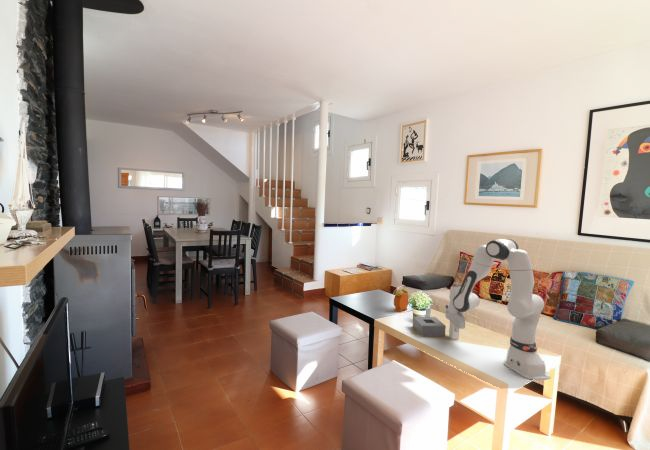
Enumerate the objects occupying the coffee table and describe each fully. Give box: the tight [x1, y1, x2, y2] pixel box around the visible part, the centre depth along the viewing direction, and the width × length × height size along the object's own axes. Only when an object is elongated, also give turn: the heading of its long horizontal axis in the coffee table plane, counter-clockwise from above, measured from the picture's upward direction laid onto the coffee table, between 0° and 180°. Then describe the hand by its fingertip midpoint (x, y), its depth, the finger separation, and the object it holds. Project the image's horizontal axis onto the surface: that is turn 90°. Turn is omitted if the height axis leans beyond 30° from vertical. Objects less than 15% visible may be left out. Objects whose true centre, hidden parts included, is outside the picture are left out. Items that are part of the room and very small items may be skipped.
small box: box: [425, 306, 432, 317], centre depth 240 cm, size 8×6×10 cm
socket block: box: [412, 316, 447, 337], centre depth 221 cm, size 16×16×7 cm
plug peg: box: [448, 320, 460, 340], centre depth 212 cm, size 4×4×11 cm
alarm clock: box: [393, 285, 410, 313], centre depth 261 cm, size 13×6×20 cm, turn 133°
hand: (454, 329), depth 212 cm, fingers closed on plug peg, 4 cm apart
